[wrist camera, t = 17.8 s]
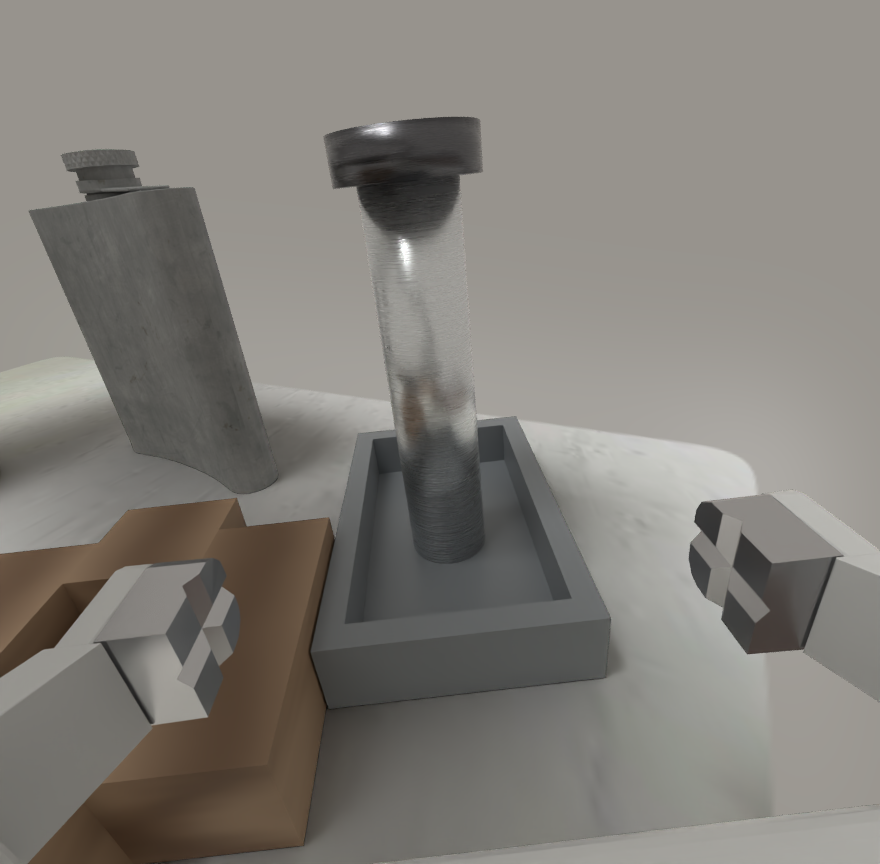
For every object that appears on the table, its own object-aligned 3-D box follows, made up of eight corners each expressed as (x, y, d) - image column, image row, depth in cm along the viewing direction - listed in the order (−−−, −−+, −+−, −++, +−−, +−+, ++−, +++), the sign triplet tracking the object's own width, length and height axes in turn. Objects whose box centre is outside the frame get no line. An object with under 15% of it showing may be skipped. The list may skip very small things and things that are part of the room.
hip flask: (126, 449, 39) (0, 167, 30) (174, 428, 41) (72, 166, 32) (249, 498, 30) (124, 126, 21) (298, 468, 33) (206, 129, 24)
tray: (328, 709, 17) (310, 652, 16) (366, 473, 31) (358, 433, 30) (605, 677, 17) (610, 618, 16) (517, 457, 31) (515, 416, 30)
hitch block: (-340, 1041, 11) (-507, 978, 9) (65, 583, 24) (27, 521, 23) (283, 968, 11) (234, 893, 10) (351, 551, 25) (337, 486, 23)
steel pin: (396, 582, 22) (310, 130, 14) (398, 512, 26) (335, 144, 18) (510, 569, 22) (491, 110, 14) (492, 502, 26) (470, 129, 18)
